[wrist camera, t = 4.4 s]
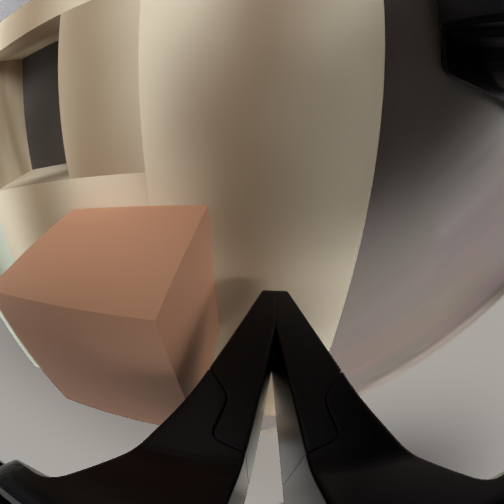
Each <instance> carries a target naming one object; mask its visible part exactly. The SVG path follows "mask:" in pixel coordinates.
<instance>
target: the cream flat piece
mask: <svg viewBox="0 0 504 504" xmlns="http://www.w3.org/2000/svg"><path fill="white" fill-rule="evenodd" d="M384 69H385V15H384V0H31V1H30V2H28V3H27V4H25V5H24V6H22V7H21V8H19V9H18V10H17V11H15V12H14V13H12V14H11V15H10V16H8V17H7V18H6V19H4V20H3V21H2V22H1V23H0V277H1V276H2V274H3V273H4V272H5V271H6V270H7V269H8V268H9V267H10V266H11V265H12V264H13V263H14V262H15V261H16V260H17V259H18V258H19V257H20V256H21V255H22V254H23V253H24V252H25V251H26V250H27V249H28V248H29V247H30V246H31V245H32V244H33V243H34V242H36V241H37V240H38V239H39V238H40V237H41V236H42V235H43V234H44V233H45V232H47V231H48V230H49V229H50V228H51V227H52V226H53V225H55V224H56V223H57V222H58V221H59V220H60V219H62V218H63V217H64V216H65V215H66V214H68V213H69V212H70V211H71V210H73V209H87V208H107V207H131V206H169V205H208V213H209V225H210V237H211V248H212V259H213V269H214V279H215V288H216V297H217V306H218V315H219V323H220V327H219V333H218V338H217V343H216V349H215V354H214V359H213V362H214V361H215V359H216V358H217V356H218V355H219V353H220V352H221V351H222V349H223V348H224V346H225V345H226V343H227V342H228V340H229V339H230V337H231V336H232V335H233V333H234V332H235V330H236V329H237V327H238V326H239V324H240V323H241V321H242V320H243V318H244V317H245V315H246V314H247V312H248V311H249V309H250V308H251V306H252V305H253V303H254V302H255V300H256V299H257V297H258V296H259V294H260V293H261V292H262V291H263V290H274V291H276V290H278V291H288V292H289V294H290V295H291V297H292V298H293V300H294V301H295V303H296V304H297V306H298V307H299V309H300V310H301V311H302V313H303V314H304V316H305V317H306V319H307V320H308V322H309V323H310V325H311V326H312V328H313V329H314V331H315V332H316V334H317V335H318V337H319V338H320V340H321V341H322V343H323V344H324V346H325V347H326V349H327V350H328V351H329V350H330V347H331V344H332V342H333V339H334V336H335V332H336V329H337V326H338V323H339V320H340V317H341V314H342V310H343V307H344V304H345V300H346V297H347V293H348V290H349V286H350V283H351V279H352V275H353V271H354V267H355V264H356V260H357V255H358V251H359V247H360V243H361V239H362V234H363V230H364V225H365V220H366V215H367V210H368V205H369V200H370V194H371V189H372V183H373V177H374V171H375V164H376V157H377V150H378V142H379V134H380V125H381V115H382V103H383V89H384ZM0 316H1V318H2V320H3V321H4V323H5V325H6V326H7V328H8V329H9V331H10V332H11V334H12V335H13V337H14V338H15V340H16V341H17V342H18V344H19V345H20V347H21V348H22V349H23V351H24V352H25V354H26V355H27V356H28V358H29V359H30V360H31V361H32V363H33V364H34V365H35V366H36V367H38V368H40V367H39V365H38V364H37V363H36V362H35V360H34V359H33V358H32V356H31V355H30V354H29V352H28V351H27V350H26V348H25V347H24V346H23V344H22V343H21V341H20V340H19V338H18V337H17V336H16V334H15V333H14V331H13V330H12V328H11V327H10V325H9V323H8V322H7V320H6V319H5V317H4V315H3V314H2V312H1V310H0ZM264 415H273V416H276V411H275V401H274V391H273V381H272V372H271V377H270V383H269V388H268V394H267V399H266V404H265V410H264Z"/></svg>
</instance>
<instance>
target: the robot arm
mask: <svg viewBox="0 0 504 504" xmlns="http://www.w3.org/2000/svg"><path fill="white" fill-rule="evenodd" d="M437 5H438V16H439V23H440V26H441V63H442V67H443V70H444V71H445V73H446V74H447V75H449V76H450V77H452V78H455V79H457V80H459V81H462V82H464V83H466V84H468V85H471V86H473V87H475V88H477V89H479V90H481V91H483V92H485V93H487V94H489V95H491V96H493V97H494V98H496V99H498V100H500V101H502V102H503V103H504V0H437ZM452 62H453V63H454V64H455V71H454V70H453V68H452V65H451V63H452ZM271 372H272V381H273V391H274V401H275V411H276V422H277V432H278V443H279V453H280V464H281V475H282V485H283V496H284V497H283V498H284V504H504V472H502V473H500V474H498V475H497V476H495V477H493V478H491V479H489V480H486V479H477V478H473V477H470V476H467V475H464V474H461V473H458V472H455V471H453V470H450V469H447V468H444V467H442V466H439V465H437V464H434V463H432V462H429V461H427V460H424V459H422V458H420V457H417V456H416V455H414V454H412V453H411V452H409V451H408V450H407V449H406V448H405V447H403V446H402V445H401V444H400V443H399V442H398V440H397V439H396V438H395V437H394V436H393V435H392V434H391V433H390V431H388V429H387V428H386V427H385V426H384V425H383V424H382V422H381V421H380V420H379V419H378V418H377V417H376V416H375V414H374V413H373V412H372V411H371V410H370V409H369V408H368V406H367V405H366V404H365V403H364V401H363V400H362V399H361V398H360V397H359V395H358V394H357V392H356V391H355V390H354V388H353V387H352V385H351V384H350V383H349V381H348V380H347V378H346V377H345V375H344V374H343V372H341V369H340V368H339V366H338V365H337V363H336V362H335V360H334V359H333V357H332V356H331V354H330V353H329V351H328V350H327V349H326V347H325V346H324V344H323V343H322V341H321V340H320V338H319V337H318V335H317V334H316V332H315V331H314V329H313V328H312V326H311V325H310V323H309V322H308V320H307V319H306V317H305V316H304V314H303V313H302V311H301V310H300V309H299V307H298V306H297V304H296V303H295V301H294V300H293V298H292V297H291V295H290V294H289V292H288V291H278V290H276V291H274V290H263V291H262V292H261V293H260V294H259V296H258V297H257V299H256V300H255V302H254V303H253V305H252V306H251V308H250V309H249V311H248V312H247V314H246V315H245V317H244V318H243V320H242V321H241V323H240V324H239V326H238V327H237V329H236V330H235V332H234V333H233V335H232V336H231V337H230V339H229V340H228V342H227V343H226V345H225V346H224V348H223V349H222V351H221V352H220V353H219V355H218V356H217V358H216V359H215V361H214V362H213V363H212V365H211V366H210V369H208V370H207V372H206V373H205V375H204V376H203V377H202V379H201V380H200V382H199V383H198V384H197V385H196V387H195V388H194V389H193V391H192V392H191V393H190V394H189V395H188V397H187V398H186V399H185V400H184V401H183V402H182V403H181V404H180V405H179V407H178V408H177V409H176V410H175V411H174V412H173V413H172V414H171V415H170V416H169V417H168V418H167V419H166V420H165V421H164V422H163V423H162V424H161V425H160V426H159V427H158V428H157V429H156V430H155V431H154V432H153V433H152V434H151V435H150V436H149V437H148V438H147V439H146V440H144V441H143V443H141V444H140V445H139V446H137V447H136V448H134V449H133V450H131V451H129V452H128V453H126V454H124V455H121V456H119V457H116V458H114V459H111V460H109V461H106V462H103V463H101V464H98V465H95V466H92V467H90V468H87V469H84V470H81V471H78V472H75V473H72V474H68V475H65V476H61V477H49V476H47V475H45V474H43V473H41V472H39V471H37V470H35V469H33V468H32V467H30V466H28V465H26V464H24V463H22V462H20V461H18V460H13V461H11V462H9V463H6V464H5V463H3V462H2V461H0V504H244V502H245V498H246V494H247V489H248V485H249V481H250V476H251V472H252V468H253V463H254V459H255V454H256V449H257V444H258V440H259V435H260V430H261V425H262V420H263V415H264V410H265V404H266V399H267V394H268V388H269V383H270V377H271Z"/></svg>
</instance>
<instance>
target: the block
mask: <svg viewBox="0 0 504 504" xmlns="http://www.w3.org/2000/svg"><path fill="white" fill-rule="evenodd" d="M0 310H1V312H2V314H3V315H4V317H5V319H6V320H7V322H8V323H9V325H10V327H11V328H12V330H13V331H14V333H15V334H16V336H17V337H18V338H19V340H20V341H21V343H22V344H23V346H24V347H25V348H26V350H27V351H28V352H29V354H30V355H31V356H32V358H33V359H34V360H35V362H36V363H37V364H38V365H39V367H40V368H41V369H42V370H43V372H44V373H45V374H46V375H47V376H48V378H49V379H50V380H51V381H52V382H53V383H54V385H55V386H56V387H57V388H58V389H59V390H60V391H61V392H62V393H63V395H64V396H65V397H67V399H71V400H73V401H75V402H78V403H81V404H84V405H87V406H90V407H93V408H96V409H99V410H102V411H105V412H109V413H112V414H115V415H119V416H123V417H126V418H130V419H134V420H139V421H142V422H147V423H151V424H156V425H161V424H162V423H163V422H164V421H165V420H166V419H167V418H168V417H169V416H170V415H171V414H172V413H173V412H174V411H175V410H176V409H177V408H178V407H179V405H180V404H181V403H182V402H183V401H184V400H185V399H186V398H187V397H188V395H189V394H190V393H191V392H192V391H193V389H194V388H195V387H196V385H197V384H198V383H199V382H200V380H201V379H202V377H203V376H204V375H205V373H206V372H207V370H208V369H210V366H211V365H212V363H213V359H214V354H215V349H216V343H217V338H218V333H219V327H220V323H219V315H218V306H217V297H216V288H215V279H214V269H213V259H212V248H211V237H210V225H209V213H208V205H169V206H131V207H107V208H87V209H73V210H71V211H70V212H69V213H68V214H66V215H65V216H64V217H63V218H62V219H60V220H59V221H58V222H57V223H56V224H55V225H53V226H52V227H51V228H50V229H49V230H48V231H47V232H45V233H44V234H43V235H42V236H41V237H40V238H39V239H38V240H37V241H36V242H34V243H33V244H32V245H31V246H30V247H29V248H28V249H27V250H26V251H25V252H24V253H23V254H22V255H21V256H20V257H19V258H18V259H17V260H16V261H15V262H14V263H13V264H12V265H11V266H10V267H9V268H8V269H7V270H6V271H5V272H4V273H3V274H2V276H1V277H0Z"/></svg>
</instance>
